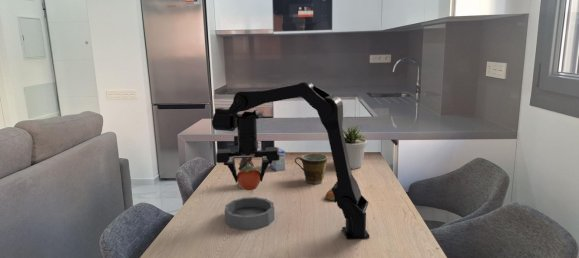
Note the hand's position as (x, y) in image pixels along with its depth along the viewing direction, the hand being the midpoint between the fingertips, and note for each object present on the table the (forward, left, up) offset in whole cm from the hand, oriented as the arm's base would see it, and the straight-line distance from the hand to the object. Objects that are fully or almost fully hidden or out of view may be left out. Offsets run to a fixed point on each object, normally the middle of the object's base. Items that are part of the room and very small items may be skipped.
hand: (248, 181), depth 121 cm
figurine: (+29, +1, -12) cm, 32 cm away
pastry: (+14, -31, -13) cm, 36 cm away
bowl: (0, 0, -12) cm, 12 cm away
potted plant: (+47, -44, -12) cm, 65 cm away
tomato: (0, 0, -2) cm, 2 cm away
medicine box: (+49, -12, -12) cm, 52 cm away
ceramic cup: (+31, -24, -12) cm, 41 cm away
